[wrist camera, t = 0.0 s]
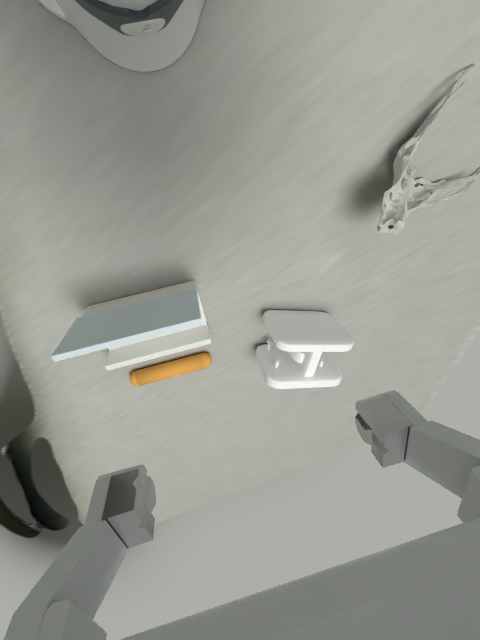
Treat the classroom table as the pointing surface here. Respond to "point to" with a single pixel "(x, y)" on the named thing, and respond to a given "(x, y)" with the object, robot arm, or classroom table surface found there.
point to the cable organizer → (301, 349)
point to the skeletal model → (404, 184)
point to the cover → (130, 324)
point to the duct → (158, 343)
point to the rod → (170, 369)
